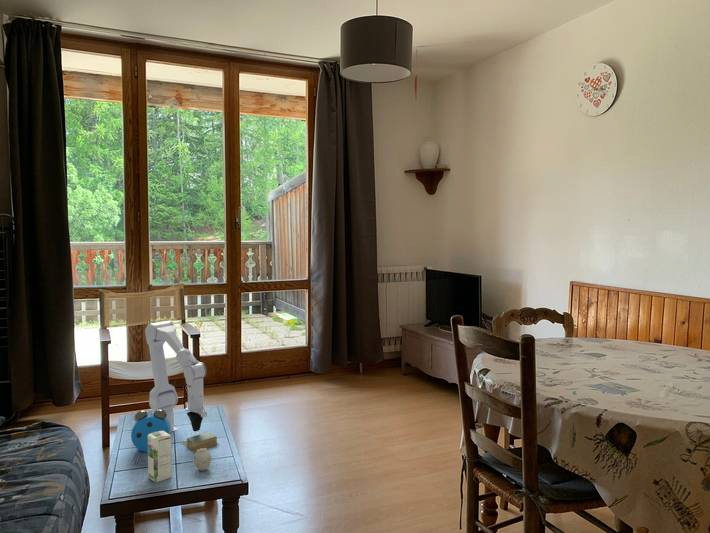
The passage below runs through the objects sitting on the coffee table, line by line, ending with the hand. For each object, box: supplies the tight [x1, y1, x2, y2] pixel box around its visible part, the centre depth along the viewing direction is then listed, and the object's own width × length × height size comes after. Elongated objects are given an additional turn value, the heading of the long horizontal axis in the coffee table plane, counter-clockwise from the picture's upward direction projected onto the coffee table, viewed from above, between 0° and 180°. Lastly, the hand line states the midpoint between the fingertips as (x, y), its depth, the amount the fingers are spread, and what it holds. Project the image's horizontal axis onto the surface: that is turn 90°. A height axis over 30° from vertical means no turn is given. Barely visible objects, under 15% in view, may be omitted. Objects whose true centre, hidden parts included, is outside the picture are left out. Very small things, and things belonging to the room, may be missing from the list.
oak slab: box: [186, 431, 218, 451], centre depth 200 cm, size 3×9×6 cm
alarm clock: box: [130, 409, 172, 453], centre depth 197 cm, size 13×6×15 cm, turn 102°
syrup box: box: [147, 431, 173, 483], centre depth 175 cm, size 6×6×14 cm
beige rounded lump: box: [192, 448, 213, 472], centre depth 181 cm, size 6×7×7 cm
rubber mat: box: [180, 440, 220, 453], centre depth 202 cm, size 12×10×1 cm
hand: (196, 430), depth 203 cm, fingers closed
